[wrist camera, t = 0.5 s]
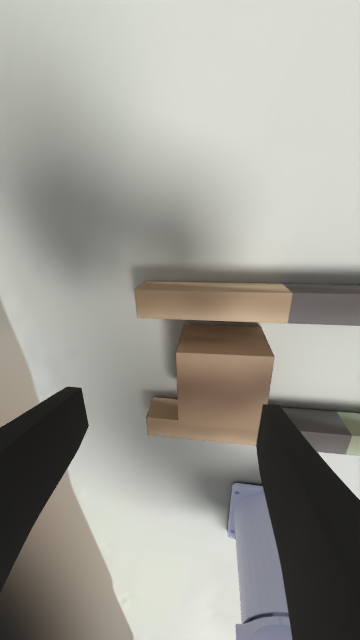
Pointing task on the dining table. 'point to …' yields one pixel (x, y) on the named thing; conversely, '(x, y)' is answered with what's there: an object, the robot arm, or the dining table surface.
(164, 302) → the trap lane
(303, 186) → the dining table surface
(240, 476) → the dining table surface
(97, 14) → the dining table surface
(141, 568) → the dining table surface
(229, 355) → the tan wooden block
